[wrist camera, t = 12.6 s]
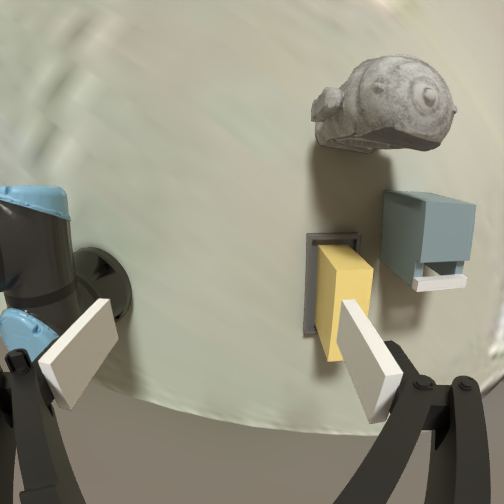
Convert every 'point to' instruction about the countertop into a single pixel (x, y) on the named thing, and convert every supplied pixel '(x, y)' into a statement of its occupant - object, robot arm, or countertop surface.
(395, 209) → the dispenser
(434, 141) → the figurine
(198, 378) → the countertop surface
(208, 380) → the countertop surface
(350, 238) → the tray
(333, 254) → the yellow tall slab
